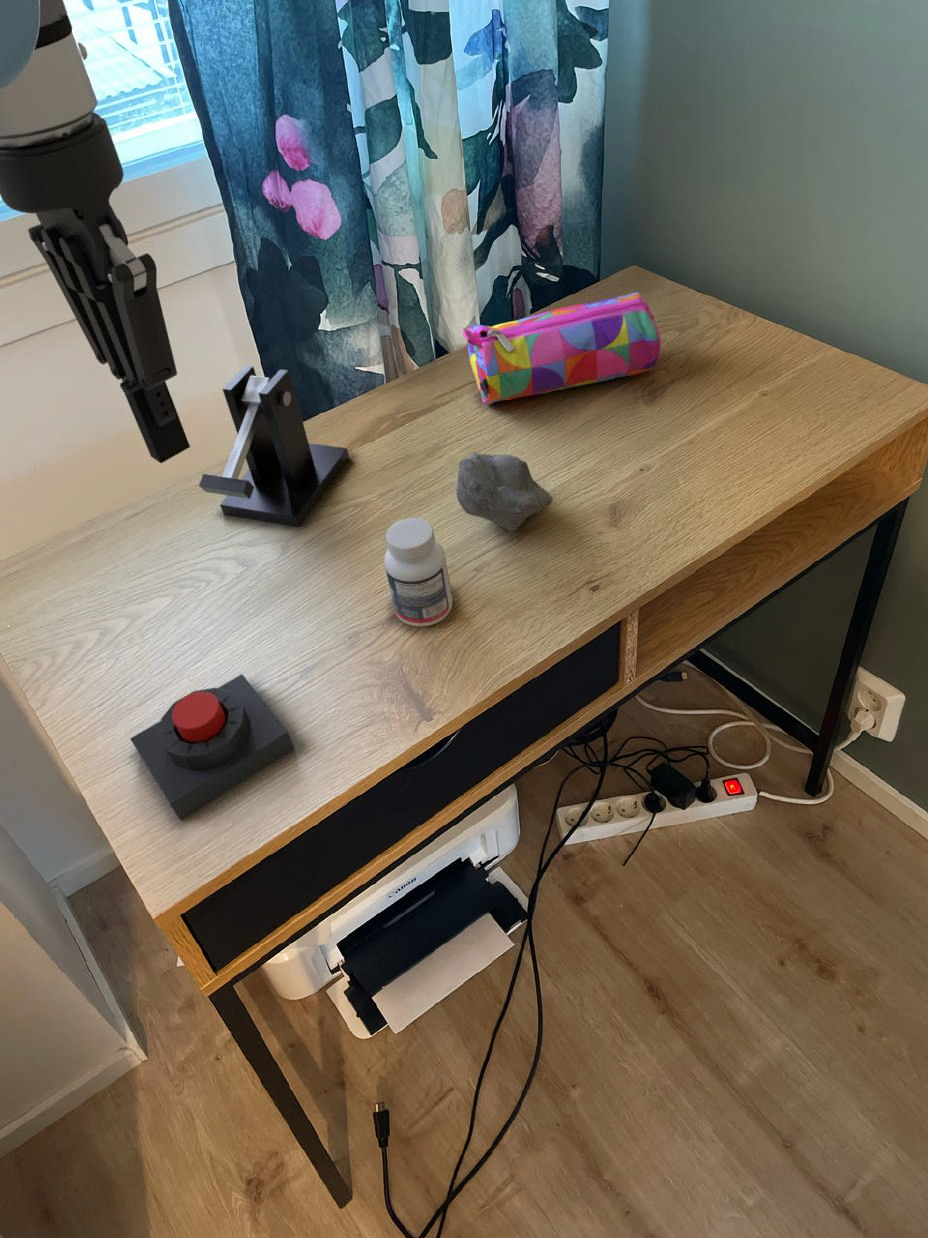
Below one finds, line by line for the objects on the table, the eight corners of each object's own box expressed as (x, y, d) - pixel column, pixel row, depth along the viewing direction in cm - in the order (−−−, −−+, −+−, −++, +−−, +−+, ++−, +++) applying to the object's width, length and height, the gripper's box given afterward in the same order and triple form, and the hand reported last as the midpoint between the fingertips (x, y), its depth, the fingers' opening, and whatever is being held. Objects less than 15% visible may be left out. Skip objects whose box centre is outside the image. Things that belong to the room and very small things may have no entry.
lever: (252, 501, 85) (240, 490, 83) (208, 494, 87) (195, 483, 85) (292, 392, 89) (282, 378, 86) (249, 387, 90) (237, 373, 88)
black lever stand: (299, 527, 91) (266, 418, 81) (223, 514, 93) (183, 408, 84) (349, 457, 98) (324, 351, 89) (277, 448, 101) (246, 344, 92)
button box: (180, 820, 67) (161, 791, 65) (139, 754, 72) (121, 724, 69) (295, 749, 71) (282, 717, 68) (249, 690, 76) (235, 659, 73)
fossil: (577, 526, 86) (576, 457, 80) (504, 570, 83) (497, 502, 77) (505, 476, 93) (499, 409, 87) (435, 514, 90) (424, 448, 84)
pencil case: (480, 425, 100) (472, 351, 93) (461, 383, 106) (453, 311, 100) (666, 384, 102) (671, 310, 95) (636, 345, 108) (639, 273, 102)
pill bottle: (403, 585, 83) (387, 510, 77) (458, 588, 82) (446, 512, 76) (388, 626, 79) (371, 551, 73) (446, 630, 78) (433, 554, 72)
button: (190, 750, 67) (183, 737, 66) (171, 722, 69) (164, 708, 68) (233, 725, 69) (226, 711, 67) (213, 698, 71) (206, 683, 69)
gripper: (149, 121, 52) (257, 458, 69) (46, 92, 59) (167, 403, 76) (31, 164, 48) (174, 507, 65) (-63, 127, 56) (88, 445, 72)
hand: (170, 451), depth 70 cm, fingers closed
